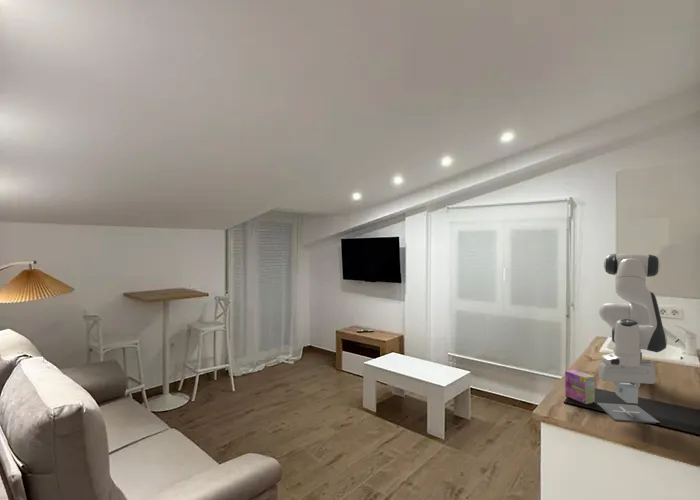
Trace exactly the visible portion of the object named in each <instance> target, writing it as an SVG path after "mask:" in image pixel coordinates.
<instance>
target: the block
mask: <svg viewBox="0 0 700 500" xmlns="http://www.w3.org/2000/svg"><path fill="white" fill-rule="evenodd" d="M618 385H619V387H621V388H622V392H617V391H616V390H615V395H616V396H618V397H619V398H620V399H621V400H623V402H625V403H627V404H639V388H636V387H635V386H634V385H633V383H632V384H631V383H628V382H620V384H618Z"/></svg>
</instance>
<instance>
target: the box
mask: <svg viewBox="0 0 700 500" xmlns="http://www.w3.org/2000/svg"><path fill="white" fill-rule="evenodd" d="M564 374H565V375H564V378H565V379H564V380H565V383H564V384H565V386H564V388H565V390H564V391H565V392H564V393H565V394H564V395H565V397H567V398H571V399H572V400H574V401H577V402H579V403H582V404H584V405H588V404H589V405H590V404H593V402H594V403H595V399H596V398H595V397H596V396H595V394H596V392H595V388H596V387H595V384H596V383H595V381H596V380H595V379H596V378H595V376H594V375H592V374H588V373H585V372H582V371H578V370H576V369H569V370H565V372H564Z"/></svg>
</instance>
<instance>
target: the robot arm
mask: <svg viewBox="0 0 700 500" xmlns="http://www.w3.org/2000/svg"><path fill="white" fill-rule="evenodd" d="M603 269H604V270H605V272H606V273H607V274H609V275H613V276H616V277H615V289H616V294H617V296H618V297H619V298H621V299H622V300H624V301H626V302H625V303H624V302H606V303H603V304H601V306H600V307H599V309H598V314H599V317H600V319H601V320H602V321H604V323H606V324H607V325H608V326H609V327H610V328H611V341H612V342H613V343H614V348H613V352H610V353H607V354H602V355H600V359H601V362H600V363H599V366H598V374H597V376H598V378H599V379H600V380H601V381H603V382H610V383H611V382H612V383H613V384H614V387H615V392H616V391H617V392H622V388H621V387H619V385H618V384H620V382H628V383H630V384H631V383H632V384H634V385H633V386H635V387H636V388H638V389H639V388H640V386H641V384H648V385H649V384H650V385H654V384H655V383H656V382H657V378H656V371H655V370H656V363H654V361H652V360H645V359H643V352H642V350H644V351H649V352H653V353H659V352H662V351H664V350H665V349H666V348H667V346H668V337H667V334H666V332H665V329H664V326H663V322H662V316H661V313H660V308H659V304H658V301H657V297H656V295H655V293H654V292H652V291H651V290H650V289H648V287H647V283H646V281H647V280H646V279H647V278H649V277H651V278H652V277H656V276H657V275H658V273H659V272H660V270H661V262H660V260H659V257H658V256H656V255H653V254H643V253H642V254H641V253H618V254H617V253H611V254H608V255H606V256H605V259H604V261H603ZM646 277H647V278H646ZM627 302H628V303H627Z"/></svg>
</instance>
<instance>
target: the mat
mask: <svg viewBox="0 0 700 500" xmlns="http://www.w3.org/2000/svg"><path fill="white" fill-rule="evenodd" d="M595 405H597V406H598V405H599V406H600V407H601V408H602V409H603V410H604V413H605V414H607V416H609V417H610V418H611V419H612V420H613V421H617V422H628V423H629V422H630V423H632V422H633V423H643V424H656V423H660V424H661V422H660V421H659V420H657V419H656V418H655V417H653V416H652V415H651V414H649V413H648V412H646V411H645V410H644V409H642V408H641V407H640V406H638V404H625V403H623V404H622V403H608V402H607V403H606V402H596V403H595ZM599 406H598V407H599ZM600 407H599V408H600ZM601 408H600V409H601ZM602 409H601V410H602ZM603 410H602V411H603Z"/></svg>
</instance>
